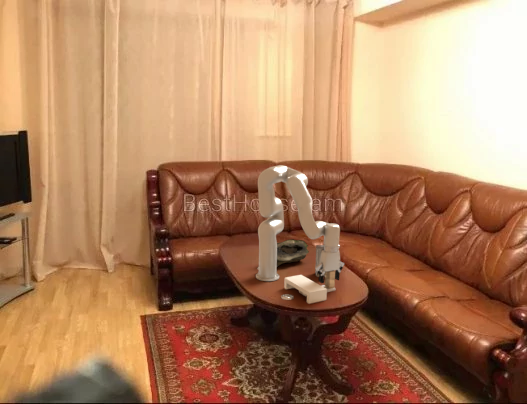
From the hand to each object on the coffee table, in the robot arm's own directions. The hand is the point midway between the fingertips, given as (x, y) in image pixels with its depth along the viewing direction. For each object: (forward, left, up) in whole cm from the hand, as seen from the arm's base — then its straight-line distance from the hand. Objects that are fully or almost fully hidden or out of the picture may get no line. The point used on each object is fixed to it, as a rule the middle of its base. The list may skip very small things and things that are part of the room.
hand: (329, 280), depth 242 cm
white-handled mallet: (0, -7, -4) cm, 9 cm away
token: (0, -25, -5) cm, 25 cm away
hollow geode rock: (-43, +3, -4) cm, 44 cm away
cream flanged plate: (0, -15, -4) cm, 15 cm away
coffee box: (-18, +10, -4) cm, 21 cm away
